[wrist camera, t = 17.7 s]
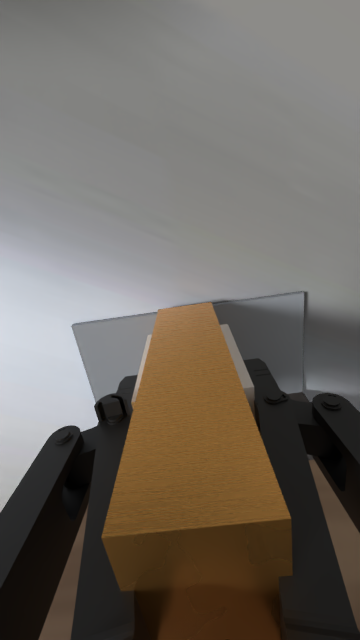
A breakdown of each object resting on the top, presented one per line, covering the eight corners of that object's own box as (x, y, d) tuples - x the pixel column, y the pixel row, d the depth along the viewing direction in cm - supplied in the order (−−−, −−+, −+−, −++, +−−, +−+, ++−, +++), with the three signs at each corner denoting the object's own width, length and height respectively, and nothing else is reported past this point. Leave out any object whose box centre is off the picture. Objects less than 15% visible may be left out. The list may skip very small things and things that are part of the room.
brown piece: (139, 312, 18) (36, 544, 5) (230, 299, 18) (362, 511, 5) (192, 560, 27) (202, 885, 14) (254, 554, 27) (326, 881, 13)
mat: (73, 323, 20) (71, 326, 19) (301, 291, 19) (304, 292, 19) (161, 602, 33) (161, 607, 33) (298, 590, 32) (299, 595, 32)
